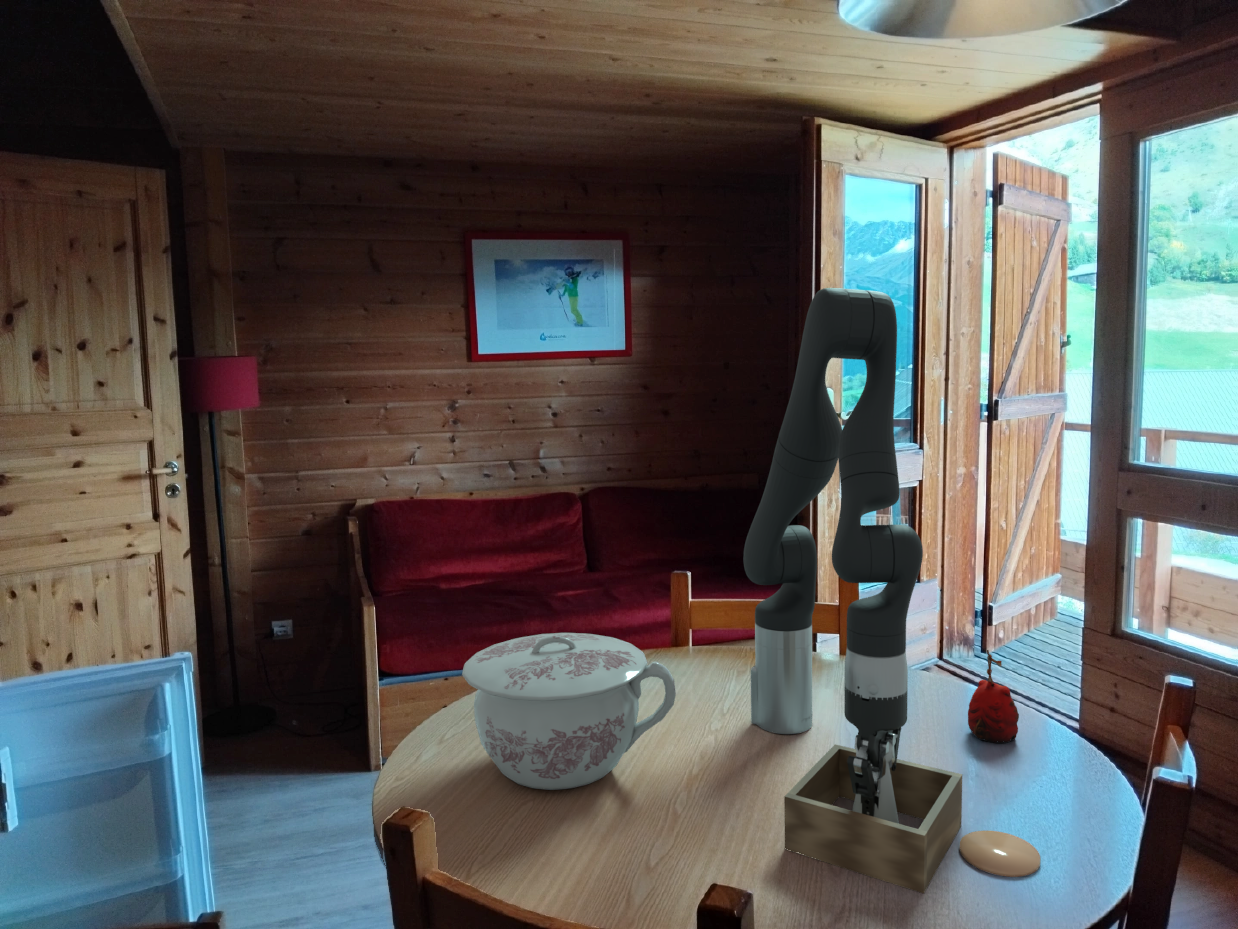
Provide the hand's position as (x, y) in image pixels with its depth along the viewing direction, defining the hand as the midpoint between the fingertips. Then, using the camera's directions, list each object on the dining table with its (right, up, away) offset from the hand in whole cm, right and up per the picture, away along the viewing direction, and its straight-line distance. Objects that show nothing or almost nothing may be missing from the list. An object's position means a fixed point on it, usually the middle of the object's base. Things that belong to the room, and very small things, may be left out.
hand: (874, 814), depth 111 cm
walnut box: (0, -3, 0) cm, 3 cm away
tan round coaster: (+14, -3, -4) cm, 15 cm away
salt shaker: (0, -3, 0) cm, 3 cm away
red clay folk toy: (+27, +1, +28) cm, 39 cm away
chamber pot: (-41, -2, +22) cm, 47 cm away
